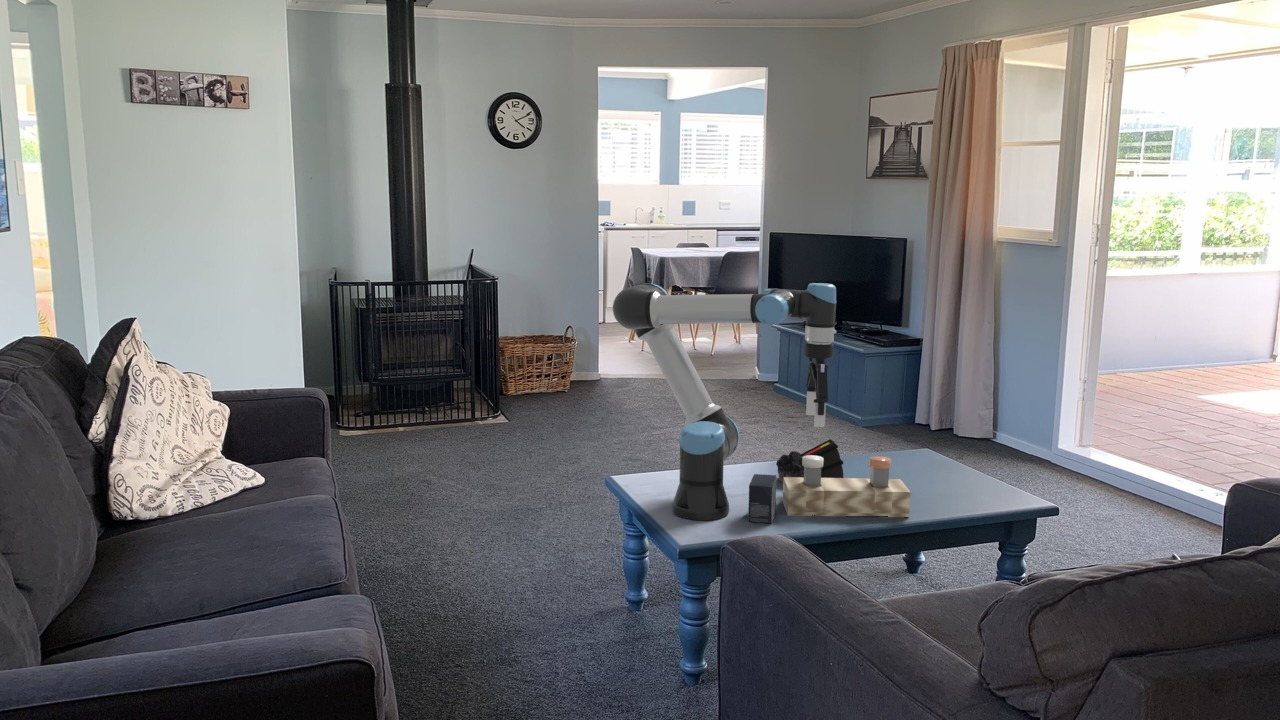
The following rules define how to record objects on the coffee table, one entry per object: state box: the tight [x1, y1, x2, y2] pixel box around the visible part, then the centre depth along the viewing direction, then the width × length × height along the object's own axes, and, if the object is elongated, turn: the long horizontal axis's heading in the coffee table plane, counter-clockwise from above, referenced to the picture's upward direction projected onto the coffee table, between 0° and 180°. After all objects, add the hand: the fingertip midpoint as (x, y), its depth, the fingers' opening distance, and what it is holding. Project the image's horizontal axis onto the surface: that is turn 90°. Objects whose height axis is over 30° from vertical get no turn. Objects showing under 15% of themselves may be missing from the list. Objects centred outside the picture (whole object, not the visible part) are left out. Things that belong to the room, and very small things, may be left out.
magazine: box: [798, 438, 845, 478], centre depth 278 cm, size 4×13×15 cm, turn 99°
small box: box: [748, 473, 777, 526], centre depth 255 cm, size 11×6×10 cm, turn 166°
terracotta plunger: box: [868, 455, 892, 488], centre depth 261 cm, size 6×6×8 cm
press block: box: [782, 477, 912, 518], centre depth 262 cm, size 32×12×7 cm, turn 88°
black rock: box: [776, 450, 804, 483], centre depth 289 cm, size 13×14×10 cm
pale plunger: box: [802, 455, 824, 487], centre depth 261 cm, size 6×6×8 cm
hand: (815, 420), depth 259 cm, fingers open, 13 cm apart
